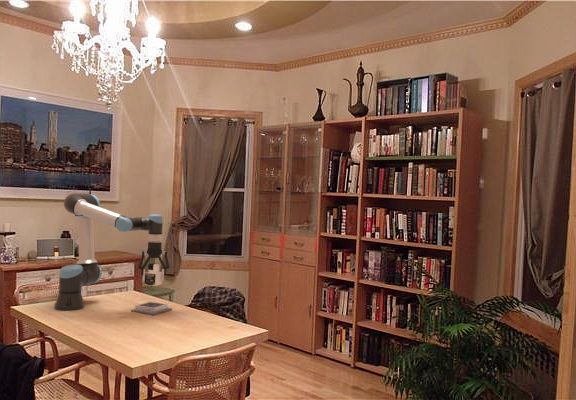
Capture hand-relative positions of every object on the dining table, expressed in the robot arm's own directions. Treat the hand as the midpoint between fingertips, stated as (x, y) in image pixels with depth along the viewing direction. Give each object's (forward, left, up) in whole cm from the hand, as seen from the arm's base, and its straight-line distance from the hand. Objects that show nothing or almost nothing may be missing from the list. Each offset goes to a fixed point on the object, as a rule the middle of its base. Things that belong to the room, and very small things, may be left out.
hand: (153, 280), depth 266 cm
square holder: (0, 0, -17) cm, 17 cm away
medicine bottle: (0, 0, -2) cm, 2 cm away
